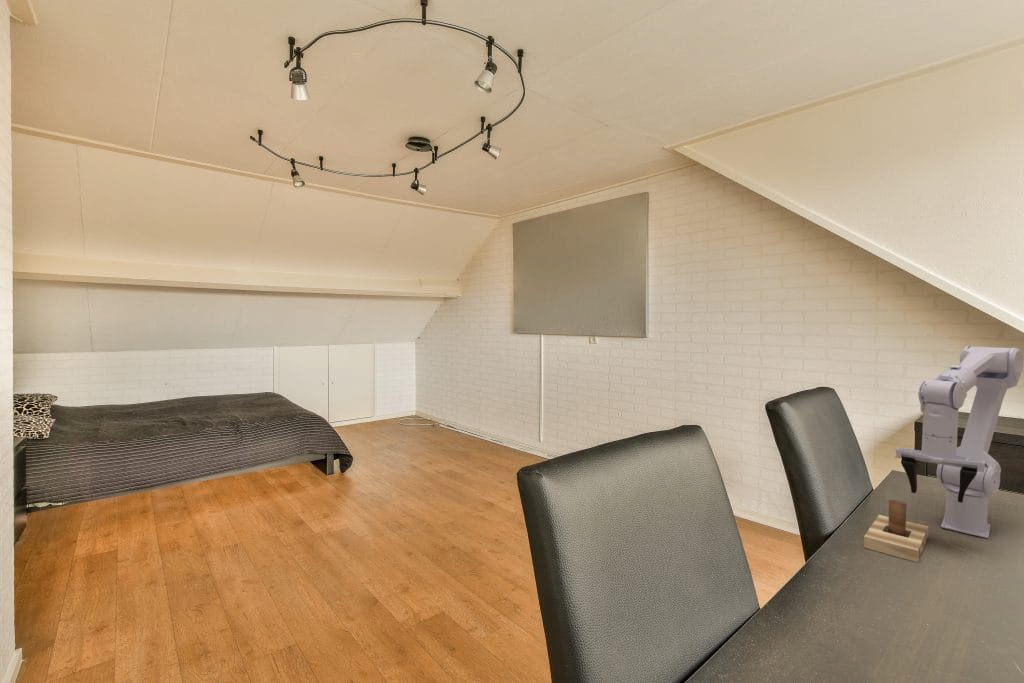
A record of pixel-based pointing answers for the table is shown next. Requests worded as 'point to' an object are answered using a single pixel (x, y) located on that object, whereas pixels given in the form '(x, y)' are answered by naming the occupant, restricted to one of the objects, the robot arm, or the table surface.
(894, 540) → the socket block
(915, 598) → the table surface
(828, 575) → the table surface
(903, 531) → the peg
